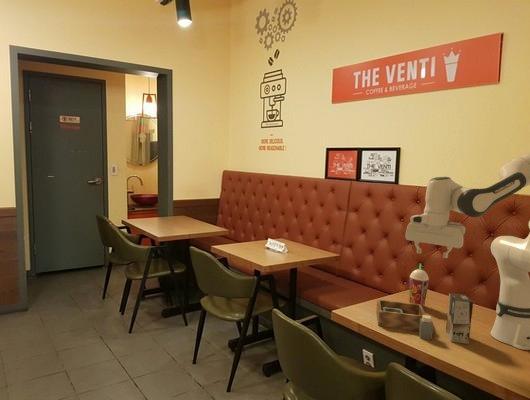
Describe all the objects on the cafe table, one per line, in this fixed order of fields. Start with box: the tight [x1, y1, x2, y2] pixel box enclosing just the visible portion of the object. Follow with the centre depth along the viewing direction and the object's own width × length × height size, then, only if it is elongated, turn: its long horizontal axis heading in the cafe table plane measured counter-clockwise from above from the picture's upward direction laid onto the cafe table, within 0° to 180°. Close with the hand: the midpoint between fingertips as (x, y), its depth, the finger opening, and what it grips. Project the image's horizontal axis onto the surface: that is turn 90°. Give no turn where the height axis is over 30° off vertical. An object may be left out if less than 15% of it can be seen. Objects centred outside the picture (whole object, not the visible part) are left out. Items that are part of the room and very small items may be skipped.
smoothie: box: [408, 263, 430, 308], centre depth 183 cm, size 8×8×20 cm
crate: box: [375, 299, 426, 332], centre depth 164 cm, size 18×14×6 cm
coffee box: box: [445, 292, 474, 345], centre depth 151 cm, size 9×6×16 cm
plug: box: [418, 314, 434, 341], centre depth 151 cm, size 4×4×8 cm
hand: (431, 255), depth 151 cm, fingers open, 8 cm apart
